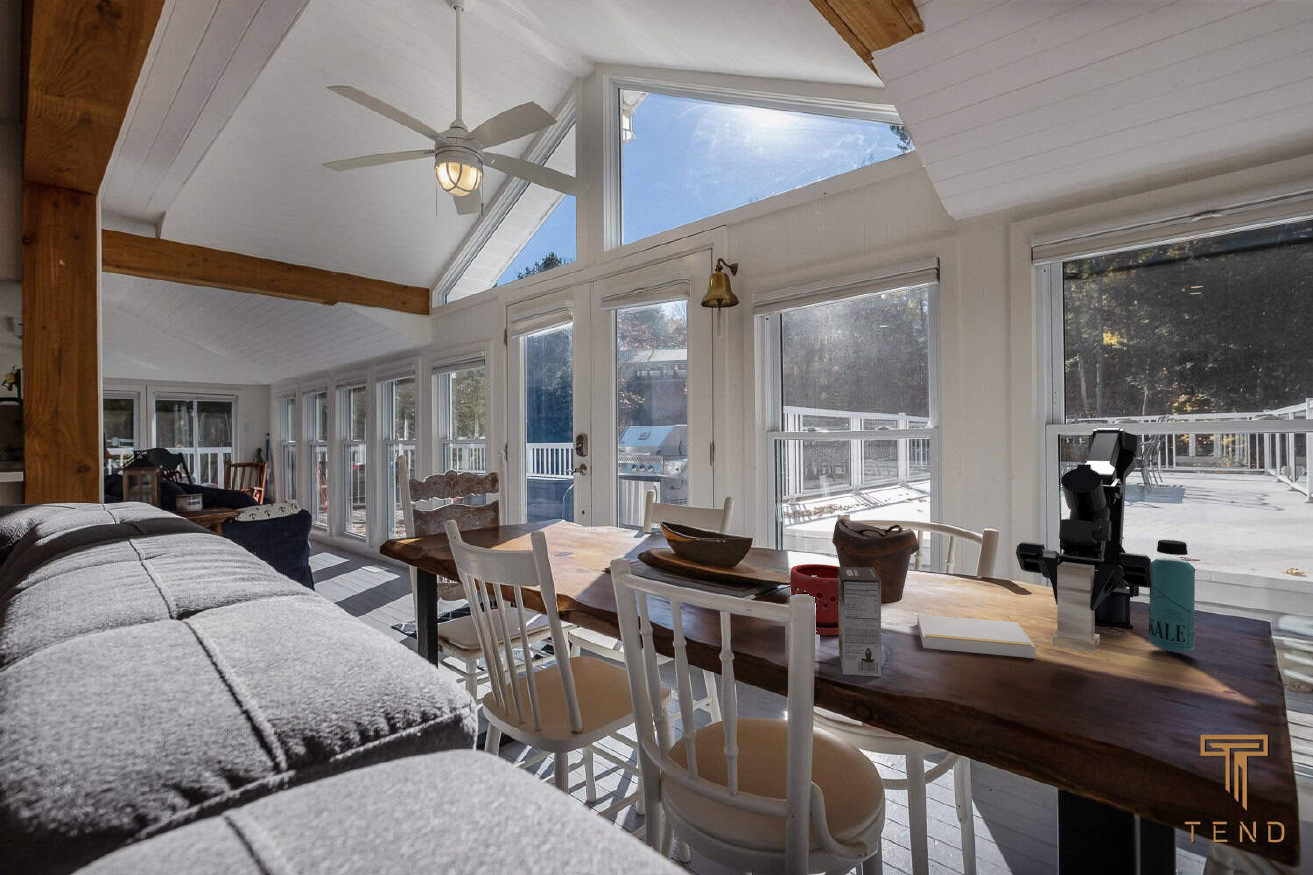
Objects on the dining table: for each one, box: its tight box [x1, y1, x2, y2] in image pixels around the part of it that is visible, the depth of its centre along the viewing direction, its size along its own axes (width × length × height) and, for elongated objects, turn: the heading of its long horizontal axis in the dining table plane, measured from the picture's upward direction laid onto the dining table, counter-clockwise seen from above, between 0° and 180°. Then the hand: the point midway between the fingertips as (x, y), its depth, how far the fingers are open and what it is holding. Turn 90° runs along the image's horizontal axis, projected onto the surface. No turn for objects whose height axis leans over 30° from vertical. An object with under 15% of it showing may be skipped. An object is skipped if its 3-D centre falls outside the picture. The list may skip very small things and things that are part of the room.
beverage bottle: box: [1148, 539, 1197, 652], centre depth 109 cm, size 6×7×20 cm
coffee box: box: [838, 566, 882, 678], centre depth 106 cm, size 9×6×16 cm
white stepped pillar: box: [1052, 562, 1101, 654], centre depth 102 cm, size 6×6×13 cm
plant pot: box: [789, 563, 839, 636], centre depth 125 cm, size 13×13×12 cm
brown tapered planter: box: [831, 518, 920, 603], centre depth 148 cm, size 18×20×18 cm
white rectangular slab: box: [916, 614, 1036, 659], centre depth 118 cm, size 18×14×2 cm
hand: (1074, 606), depth 101 cm, fingers closed on white stepped pillar, 4 cm apart
